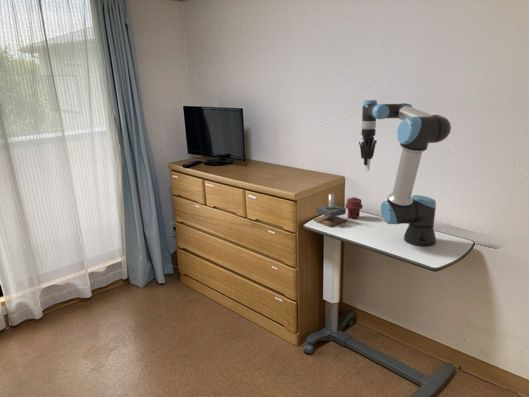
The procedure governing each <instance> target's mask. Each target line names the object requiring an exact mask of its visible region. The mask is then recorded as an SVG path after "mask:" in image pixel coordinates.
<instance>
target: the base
mask: <svg viewBox="0 0 529 397" xmlns="http://www.w3.org/2000/svg"><path fill="white" fill-rule="evenodd" d="M313 222H315V223H318V224H321V225H323V226H326V227H329V228H333V227H336V226H341V225H344V224H347V223H348V222H349V220H348V219H347V218H343V217H341V216H335V217H333V220H328V217H327V216H324V215H322V216H318V217H314V218H313Z"/></svg>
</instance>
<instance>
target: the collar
mask: <svg viewBox="0 0 529 397" xmlns="http://www.w3.org/2000/svg"><path fill="white" fill-rule="evenodd" d="M346 211H347V208H346V207H345V208H344V207H341V206H338V205H336V204H334V209H333V210H329V209H328V204H326V205H321V206H316V209H315V213H316V214H319V215H322V216H327V217H330V218H331V217H335V216H338V217H340V216H342V215H345V214H346Z"/></svg>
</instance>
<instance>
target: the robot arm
mask: <svg viewBox="0 0 529 397" xmlns="http://www.w3.org/2000/svg"><path fill="white" fill-rule="evenodd" d="M361 107H362V115H361V116H362V117H361V120H362V121H361V122H362V123H361V128H362V129H361V133H360V134H361V136H362V139H361V141H358V145H359V150H360V157H361V159H362V160H363V171H367V172H368V171H370V165H371V160H372V159H373V158H374V153H375V149H376V144H377V142H378V141H377V139H376V140H375V137H374V136H376V128H377V120H384V119H399V120H401V121H400V123H399V124H398V126H397V131H396V132H397V133H396V135H397V136H396V137H397V141H398V142H399V146H400V147H401V148H402V149H401V154H400V159H399V163H398V167H397V172H396V177H395V180H394V185H393V189H392V193H390V194H388V197H387V200H384V201H382V202H381V204H380V213H381V214H380V215H381V216H382V219H383V221H384V222H385V223H386V224H388V225H401V224H408V226H407V228H406V231H405V232H404V235H403V236H404V237H403V241H405V243H407V244H410V245H412V246H418V247H432V246H434V245H436V242H437V237H436V233H435V230H434V225H435V216H436V208H437V202H436V200H435V199H433V198H432V197H430V196H425V195H420V194H419V195H417V194H413V195H412V193H413V190H414V185H415V182H416V178H417V174H418V171H419V166H420V163H421V159H422V155H423V153H424V152H425V151H427V149H428V146H429V144H434V143H435V144H436V143H440V142H443V141H444V140H446V139H447V137H449V135H450V133H451V130H452V126H451V123H450V120H449V119H448V118H446V117H445V116H442V115H439V114H433V115H432V114H430V113H428V112H425V111H422V110H420V109H416V108H413V106H412V104H411V103H378V101H377V100H376V99H365V100H363V101H362V106H361Z"/></svg>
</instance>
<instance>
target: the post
mask: <svg viewBox="0 0 529 397" xmlns="http://www.w3.org/2000/svg"><path fill="white" fill-rule="evenodd" d="M327 205H328V209H329V210H333V209H334V205H335V194H334V193H328V204H327ZM328 220H333V217H331V218H330V217H328Z"/></svg>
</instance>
